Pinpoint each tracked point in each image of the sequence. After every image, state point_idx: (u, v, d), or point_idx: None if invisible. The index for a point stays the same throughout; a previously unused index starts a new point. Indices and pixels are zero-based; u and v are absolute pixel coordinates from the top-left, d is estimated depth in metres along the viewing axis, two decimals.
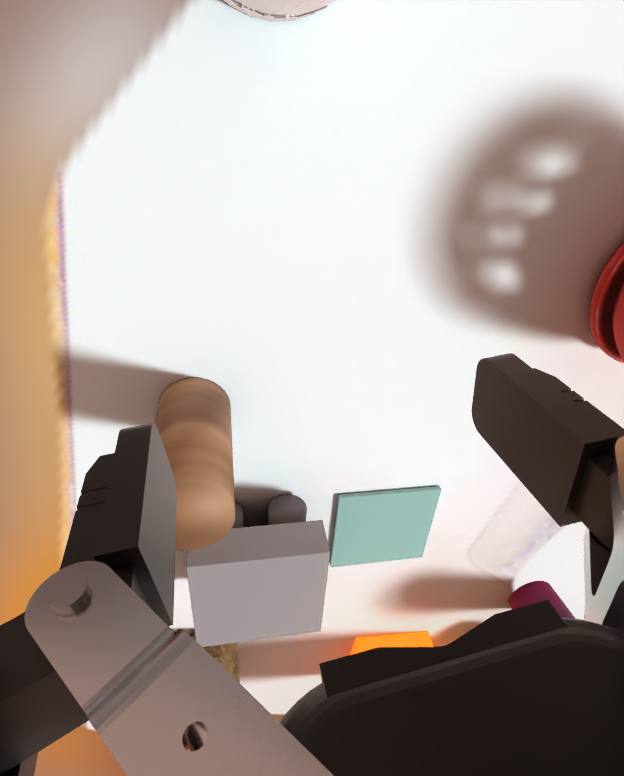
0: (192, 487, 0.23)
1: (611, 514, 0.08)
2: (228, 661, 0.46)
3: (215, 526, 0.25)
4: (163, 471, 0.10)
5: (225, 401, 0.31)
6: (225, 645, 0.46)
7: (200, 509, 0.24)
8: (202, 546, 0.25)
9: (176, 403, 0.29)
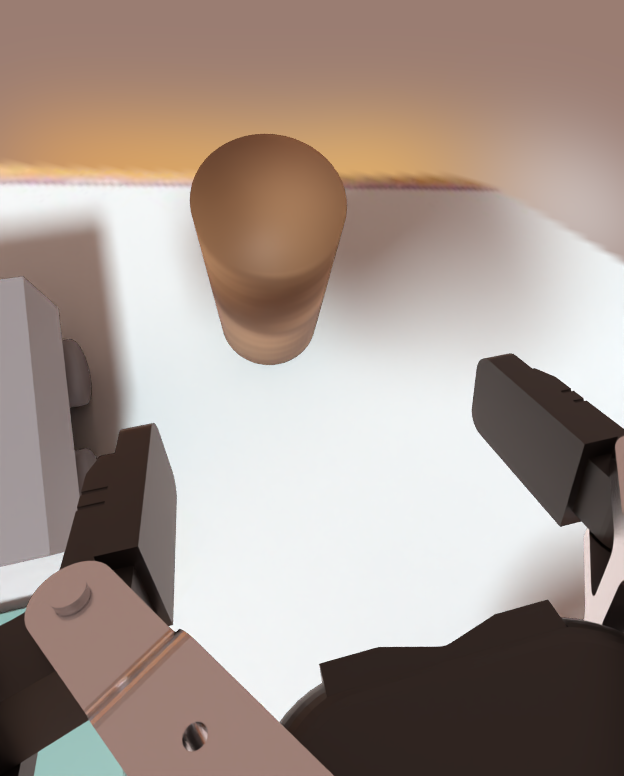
0: (340, 202, 0.15)
1: (611, 514, 0.08)
2: None
3: (254, 243, 0.14)
4: (163, 471, 0.10)
5: (301, 347, 0.23)
6: None
7: (292, 216, 0.14)
8: (196, 229, 0.14)
9: None
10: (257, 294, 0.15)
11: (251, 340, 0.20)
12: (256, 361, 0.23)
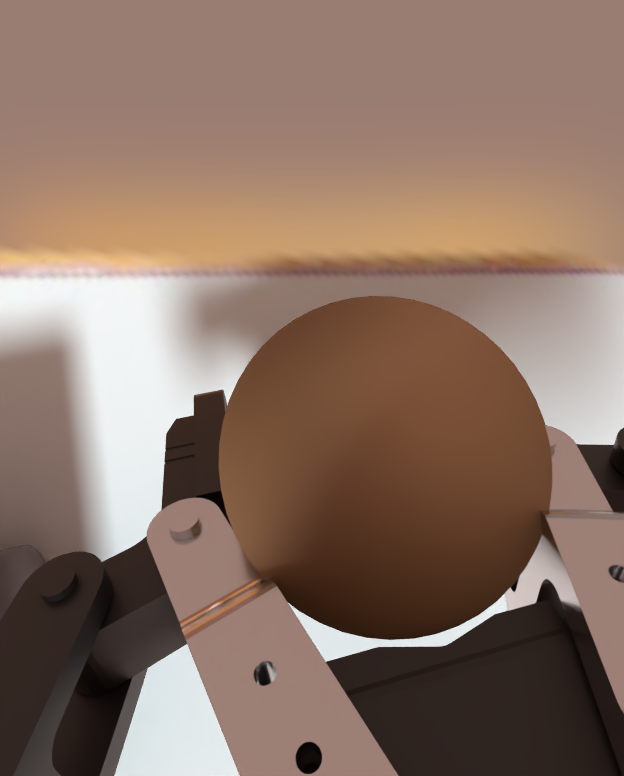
0: (538, 451, 0.07)
1: None
2: None
3: (363, 565, 0.06)
4: None
5: None
6: None
7: (441, 491, 0.07)
8: (235, 532, 0.06)
9: None
10: None
11: None
12: None
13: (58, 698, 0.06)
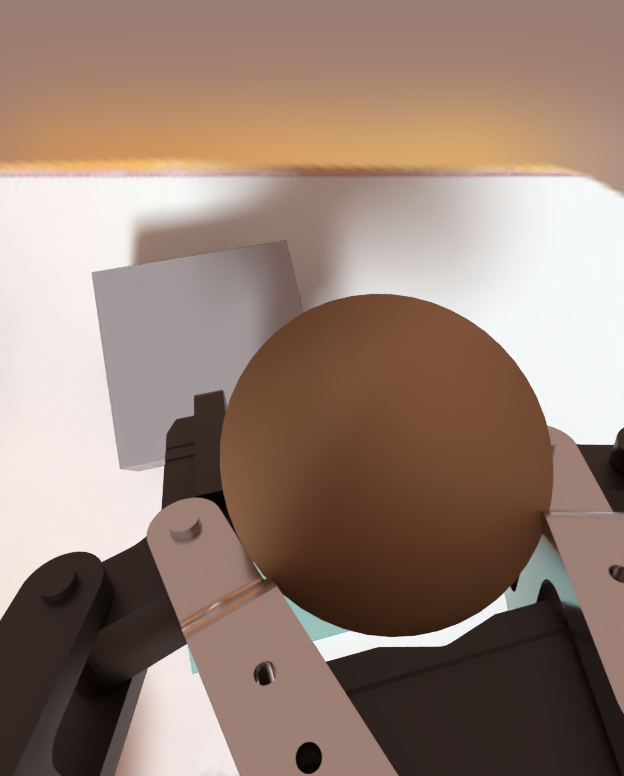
0: (539, 448, 0.07)
1: None
2: None
3: (364, 562, 0.06)
4: None
5: None
6: None
7: (443, 489, 0.07)
8: (235, 529, 0.06)
9: None
10: None
11: None
12: None
13: (58, 698, 0.06)
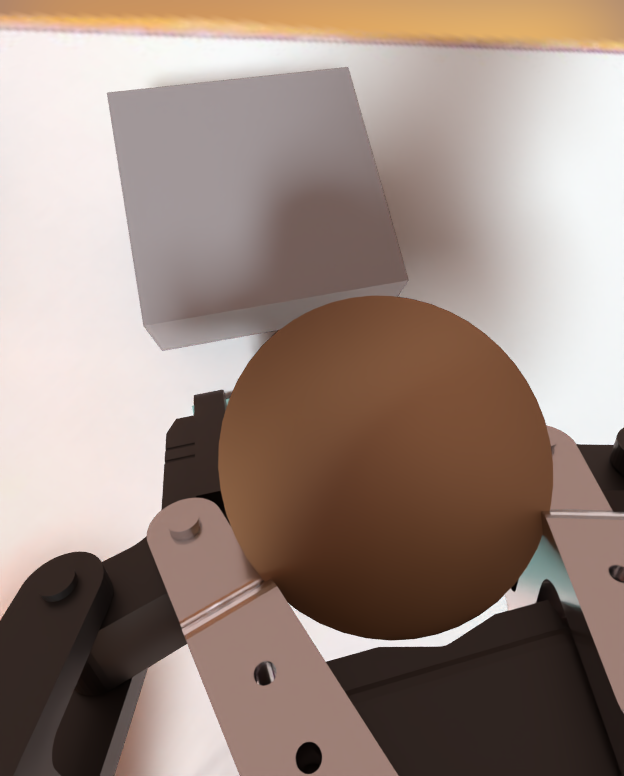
0: (539, 451, 0.07)
1: None
2: None
3: (363, 566, 0.06)
4: None
5: None
6: None
7: (442, 491, 0.07)
8: (234, 532, 0.06)
9: None
10: None
11: None
12: None
13: (58, 698, 0.06)
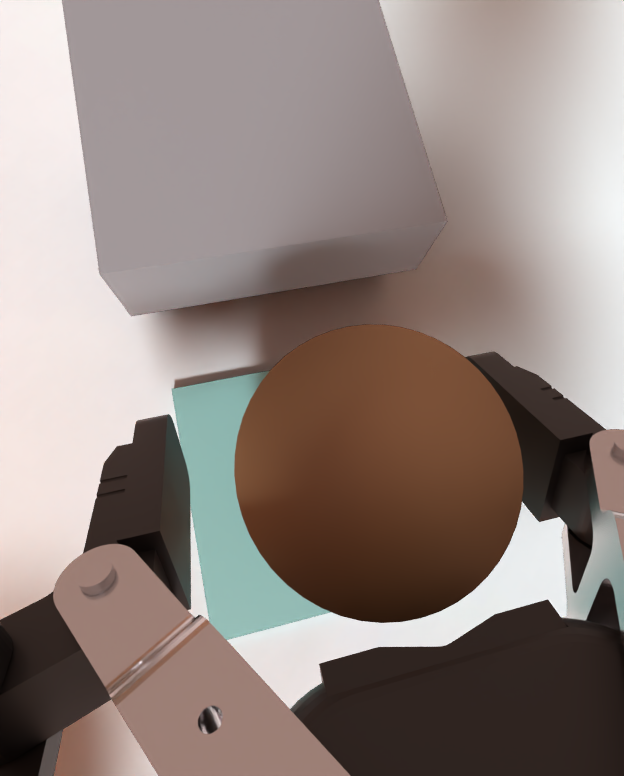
0: (511, 459, 0.08)
1: (586, 509, 0.09)
2: None
3: (359, 559, 0.07)
4: (178, 461, 0.11)
5: None
6: None
7: (426, 495, 0.08)
8: (248, 530, 0.07)
9: None
10: None
11: None
12: None
13: None
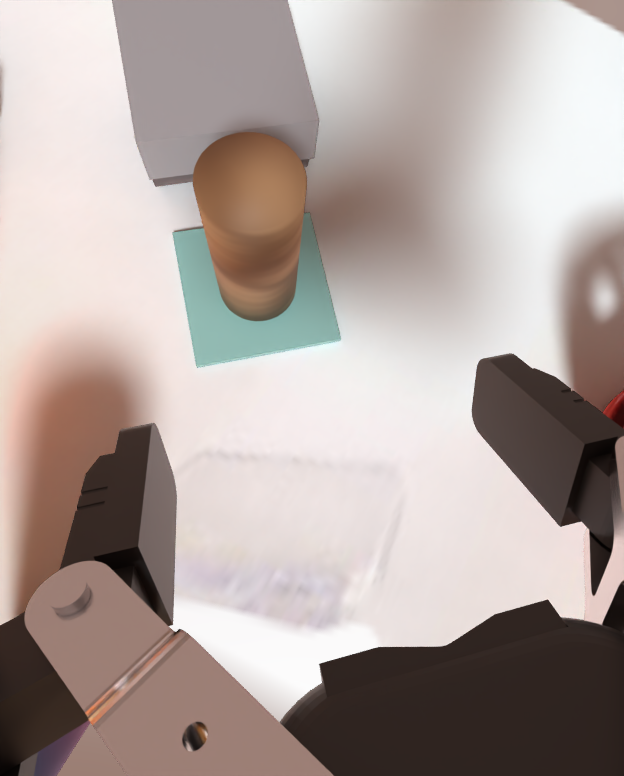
0: (302, 180, 0.20)
1: (611, 514, 0.08)
2: None
3: (239, 210, 0.19)
4: (163, 471, 0.10)
5: (283, 304, 0.28)
6: None
7: (267, 191, 0.20)
8: (198, 201, 0.20)
9: None
10: (243, 250, 0.21)
11: (242, 295, 0.26)
12: (247, 318, 0.29)
13: None
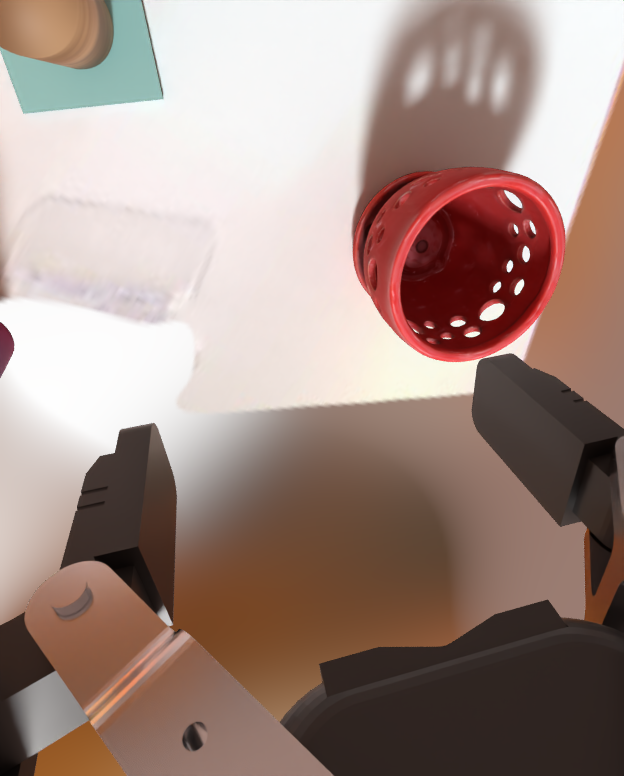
0: None
1: (611, 514, 0.08)
2: None
3: (13, 31, 0.21)
4: (163, 471, 0.10)
5: (99, 59, 0.29)
6: None
7: (36, 8, 0.21)
8: None
9: None
10: None
11: None
12: None
13: None
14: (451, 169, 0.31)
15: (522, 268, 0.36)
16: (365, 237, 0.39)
